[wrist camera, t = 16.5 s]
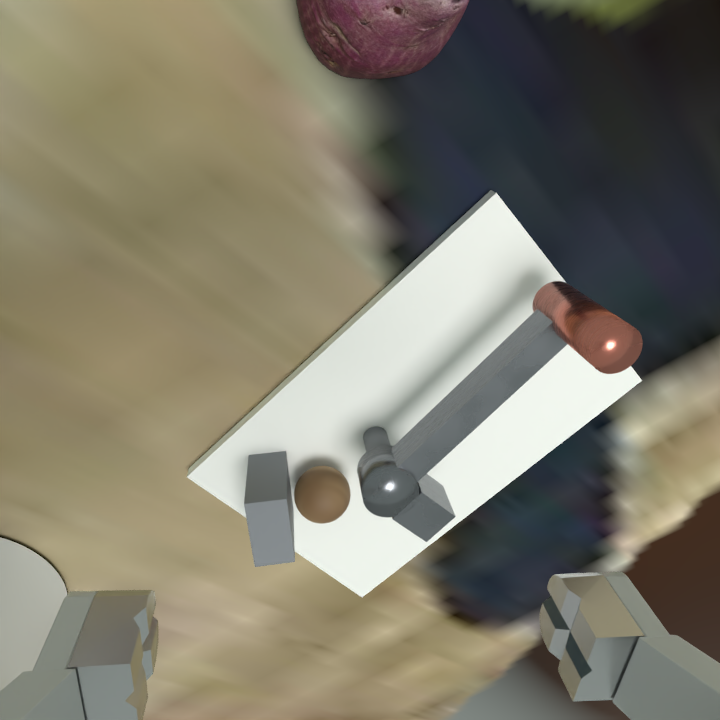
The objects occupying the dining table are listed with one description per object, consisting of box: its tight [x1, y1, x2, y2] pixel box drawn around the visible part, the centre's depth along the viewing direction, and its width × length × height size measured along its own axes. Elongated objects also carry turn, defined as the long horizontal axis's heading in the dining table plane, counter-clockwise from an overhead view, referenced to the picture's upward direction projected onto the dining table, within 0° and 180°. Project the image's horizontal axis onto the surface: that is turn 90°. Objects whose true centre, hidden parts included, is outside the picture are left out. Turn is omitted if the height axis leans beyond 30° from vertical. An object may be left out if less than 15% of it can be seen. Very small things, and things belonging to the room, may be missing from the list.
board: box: [187, 190, 642, 597], centre depth 44 cm, size 32×21×7 cm, turn 132°
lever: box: [357, 281, 642, 542], centre depth 37 cm, size 20×7×8 cm, turn 137°
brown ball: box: [294, 466, 351, 524], centre depth 45 cm, size 4×4×4 cm
